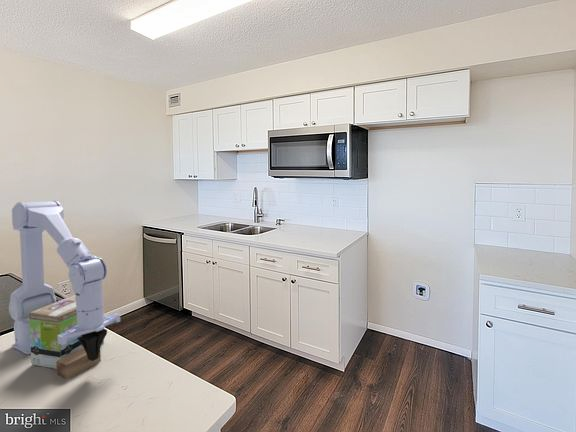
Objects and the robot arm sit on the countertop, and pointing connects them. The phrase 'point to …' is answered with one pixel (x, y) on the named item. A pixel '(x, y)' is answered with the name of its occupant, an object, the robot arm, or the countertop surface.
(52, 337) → the tea box
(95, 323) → the robot arm
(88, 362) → the walnut bar
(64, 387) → the countertop surface
